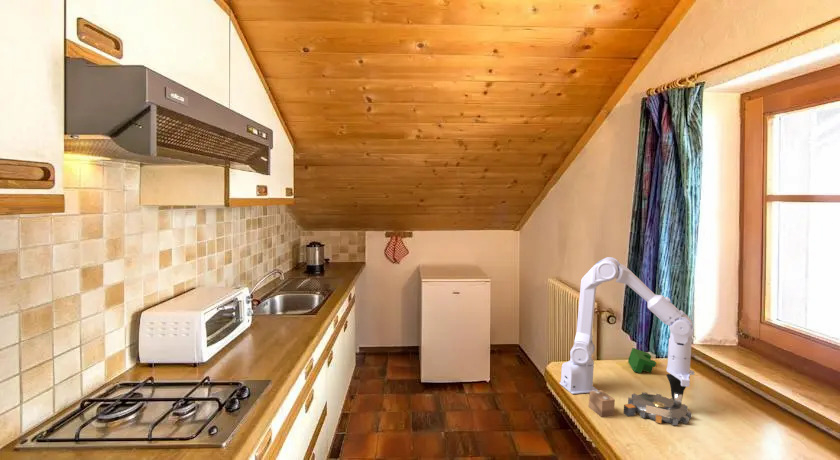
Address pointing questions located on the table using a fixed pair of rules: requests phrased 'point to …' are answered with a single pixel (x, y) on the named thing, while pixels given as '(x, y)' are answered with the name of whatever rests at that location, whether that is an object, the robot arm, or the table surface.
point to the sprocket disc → (661, 408)
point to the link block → (601, 403)
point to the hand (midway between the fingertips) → (676, 399)
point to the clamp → (641, 361)
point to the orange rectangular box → (629, 410)
